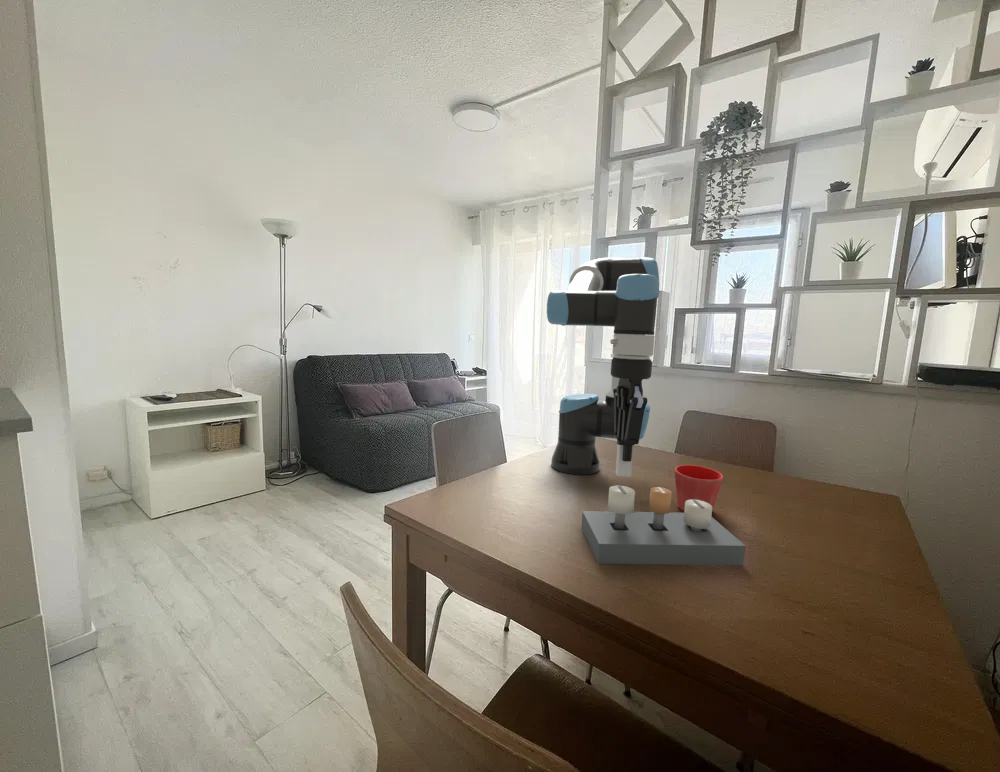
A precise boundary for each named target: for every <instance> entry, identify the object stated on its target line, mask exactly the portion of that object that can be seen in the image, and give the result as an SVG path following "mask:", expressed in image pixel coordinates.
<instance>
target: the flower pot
mask: <svg viewBox="0 0 1000 772" xmlns="http://www.w3.org/2000/svg"><path fill="white" fill-rule="evenodd" d="M723 480H724V475H723V474H722V473H721V472H720V471H717V470H715V469H713V468H709V467H705V466H701V465H695V464H681V465H677V466H676V467H675V468H674V482H675V491H676V498H677V506H678V507H679V509H680V510H681V511H683V512H684V510H685V501H687V500H700V501H704V502H707V503H709V504H710V505H711V506H712V511H713V509H714V508H715V504H716V502H717V500H718V499H717V498H718V496H719V493H720V490H721V486H722V483H723Z"/></svg>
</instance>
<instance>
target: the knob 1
mask: <svg viewBox="0 0 1000 772" xmlns="http://www.w3.org/2000/svg"><path fill="white" fill-rule="evenodd" d="M635 491H636V490H634V489H633V488H631V487H629V486H626V485H612V486H609V488H608V500H607V501H608V502H607V503H608V504H607V509H608V510H609V512H614V513H615V522H614V527H616V528H618V529H623V528H624V526H625V514H631V513H633V512H634V510H635V509H634V507H635V506H634V505H635V496H636V492H635Z"/></svg>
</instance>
